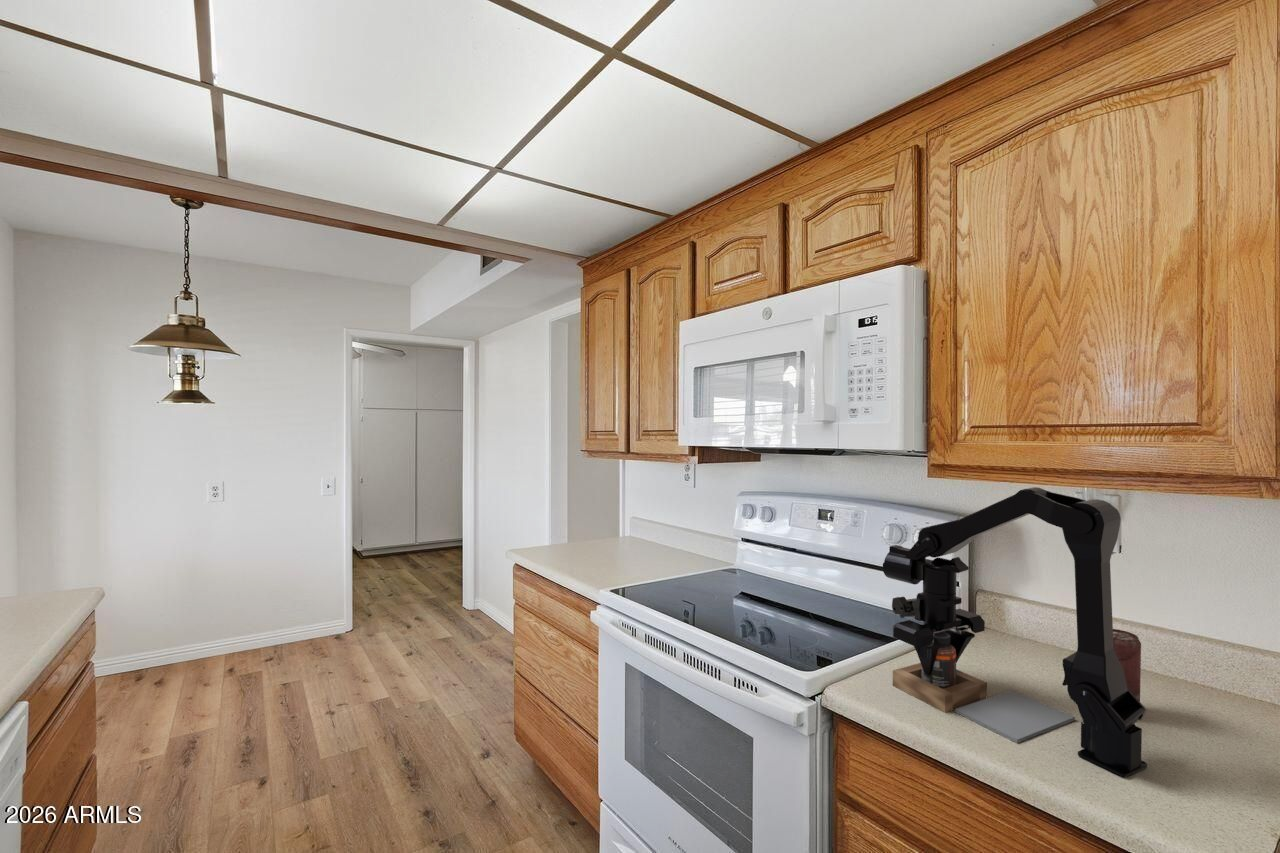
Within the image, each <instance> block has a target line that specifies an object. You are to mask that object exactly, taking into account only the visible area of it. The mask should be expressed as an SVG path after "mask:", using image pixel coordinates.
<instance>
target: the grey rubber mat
mask: <svg viewBox="0 0 1280 853" xmlns="http://www.w3.org/2000/svg"><path fill="white" fill-rule="evenodd" d="M954 711H955V713H956V714H959V715H960V716H962V717H964V718H966V719H968V720H970V721H972V722H974V723H976V724H978V725H980V726H982V727H984V728H986V729H987V730H989V731H992V732H994V733H996V734H997V735H1000V736H1002V737H1004V738H1005V739H1008V740H1010V741H1011V742H1013V743H1015V744H1019V743H1022V742H1024V741H1026V740H1029V739H1031V738H1034V737H1036V736H1039V735H1042V734H1044V733H1046V732H1049V731H1052V730H1055V729H1056V728H1059V727H1061V726H1064V725H1066V724H1069V723H1071V722H1074V721H1076V717H1075V716H1074V715H1072V714H1070V713H1067V712H1065V711H1062V710H1061V709H1058V708H1056V707H1053V706H1052V705H1051V706H1050V705H1048V704H1046V703H1044V702H1041V701H1039V700H1037V699H1035V698H1032V697H1030V696H1027V695H1025V694H1023V693H1020V692H1018V691H1016V690H1014V689H1011V690H1007V691H1005V692H1004V691H1003V692H1001V693H999V694H996V695H992V696H989V697H987V698H986V699H983V700H980V701H977V702H974V703H971V704H968V705H966V706H963V707H960V708H957V709H954Z"/></svg>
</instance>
